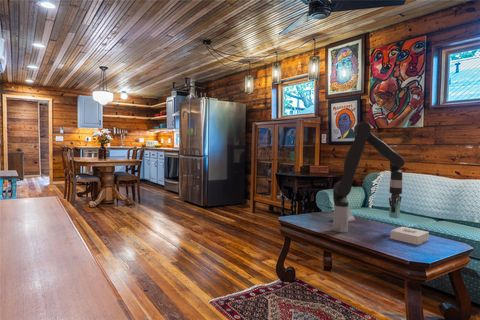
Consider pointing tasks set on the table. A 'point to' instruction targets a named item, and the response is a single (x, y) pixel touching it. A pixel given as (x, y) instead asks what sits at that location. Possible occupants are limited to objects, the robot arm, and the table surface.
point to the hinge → (350, 215)
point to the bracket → (397, 211)
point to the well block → (409, 235)
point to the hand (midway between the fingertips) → (394, 211)
